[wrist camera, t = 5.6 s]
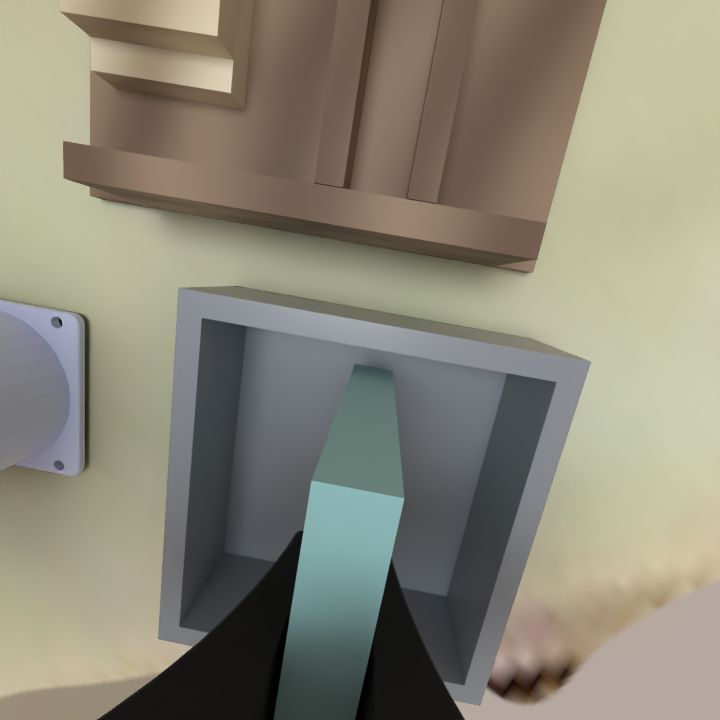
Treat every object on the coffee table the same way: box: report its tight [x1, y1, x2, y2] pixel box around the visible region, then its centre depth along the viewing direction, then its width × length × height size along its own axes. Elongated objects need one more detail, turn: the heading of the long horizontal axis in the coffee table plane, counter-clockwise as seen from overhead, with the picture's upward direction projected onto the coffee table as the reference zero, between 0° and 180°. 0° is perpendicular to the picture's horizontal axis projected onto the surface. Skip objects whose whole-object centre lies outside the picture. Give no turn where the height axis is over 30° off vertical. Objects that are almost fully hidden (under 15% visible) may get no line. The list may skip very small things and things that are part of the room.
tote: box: [158, 286, 591, 706], centre depth 15 cm, size 13×14×4 cm
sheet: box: [274, 364, 404, 720], centre depth 10 cm, size 1×10×8 cm, turn 170°
